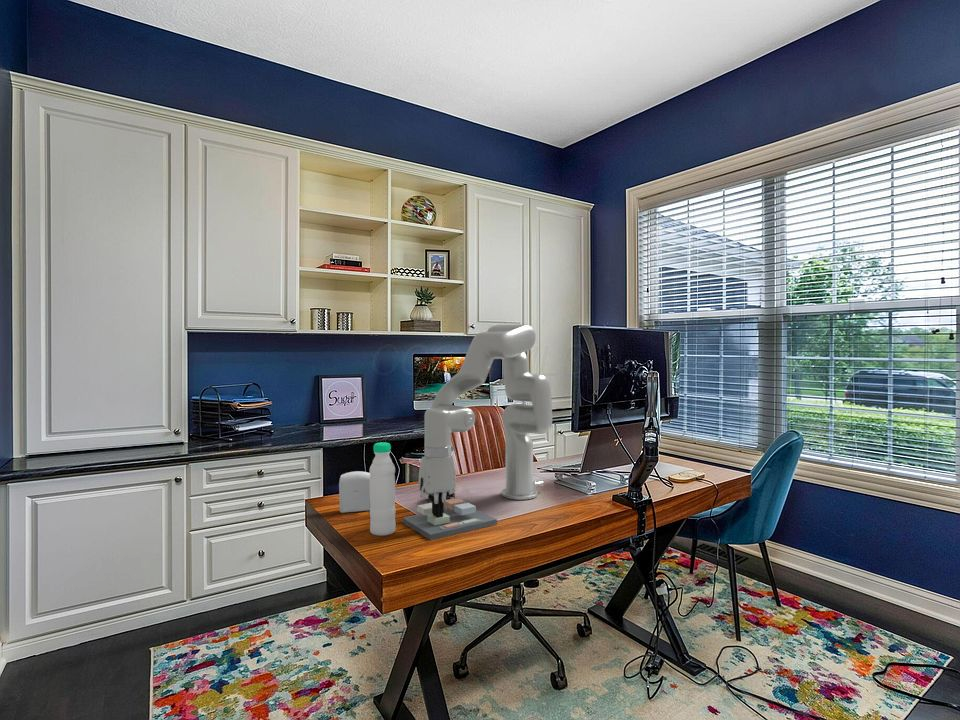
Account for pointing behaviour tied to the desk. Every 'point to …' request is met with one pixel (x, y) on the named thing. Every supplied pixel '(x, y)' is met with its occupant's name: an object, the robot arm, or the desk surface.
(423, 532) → the keypad
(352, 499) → the photo printer
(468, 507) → the blue key
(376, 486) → the water bottle
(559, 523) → the desk surface
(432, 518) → the sage key
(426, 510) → the cream key
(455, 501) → the terracotta key
